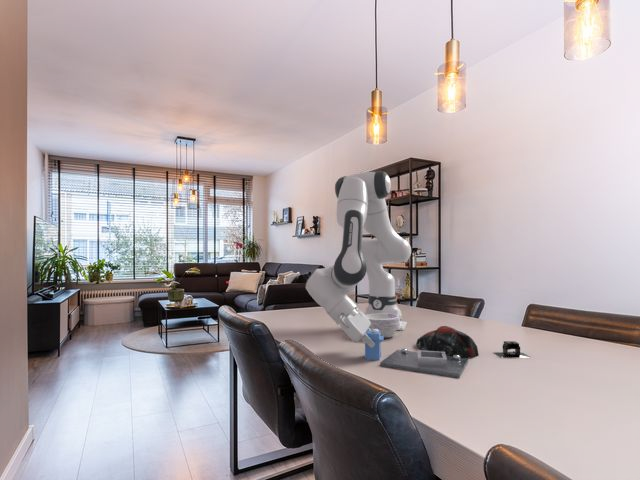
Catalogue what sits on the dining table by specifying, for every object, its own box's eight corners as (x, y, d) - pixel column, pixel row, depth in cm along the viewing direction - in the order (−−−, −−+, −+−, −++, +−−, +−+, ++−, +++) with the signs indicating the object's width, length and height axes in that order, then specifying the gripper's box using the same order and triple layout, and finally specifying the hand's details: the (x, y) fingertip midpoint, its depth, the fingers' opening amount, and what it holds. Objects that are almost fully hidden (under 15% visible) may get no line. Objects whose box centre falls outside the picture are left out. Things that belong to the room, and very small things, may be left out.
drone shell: (482, 360, 115) (481, 334, 115) (416, 356, 120) (416, 331, 120) (472, 344, 136) (472, 321, 136) (416, 341, 140) (416, 319, 141)
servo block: (363, 355, 121) (363, 327, 121) (383, 356, 119) (383, 328, 120) (361, 358, 117) (361, 330, 117) (382, 360, 115) (382, 331, 115)
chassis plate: (397, 352, 124) (397, 343, 124) (468, 362, 113) (468, 351, 113) (380, 365, 110) (380, 355, 110) (459, 377, 99) (459, 366, 99)
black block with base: (496, 359, 117) (495, 345, 117) (487, 353, 124) (486, 339, 124) (537, 360, 116) (536, 345, 116) (525, 353, 123) (525, 339, 123)
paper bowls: (355, 333, 154) (355, 313, 154) (388, 330, 158) (388, 311, 158) (371, 341, 139) (370, 320, 139) (407, 338, 144) (407, 317, 144)
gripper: (344, 309, 110) (378, 345, 108) (355, 300, 130) (384, 330, 127) (330, 324, 111) (363, 359, 109) (343, 313, 131) (371, 342, 128)
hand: (374, 343), depth 118 cm, fingers closed on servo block, 4 cm apart
